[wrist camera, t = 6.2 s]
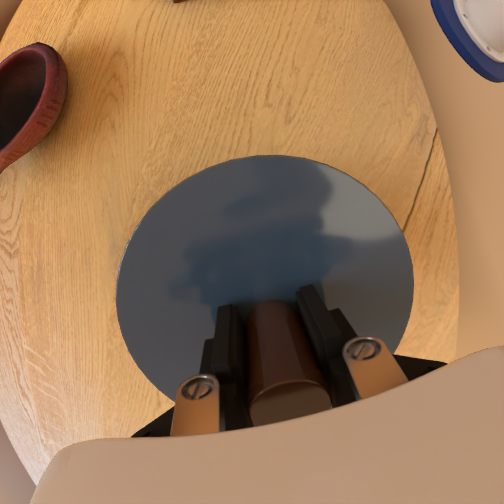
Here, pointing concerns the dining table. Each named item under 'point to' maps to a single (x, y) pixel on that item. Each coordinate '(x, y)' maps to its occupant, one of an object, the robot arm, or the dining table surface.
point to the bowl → (29, 99)
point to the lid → (261, 275)
